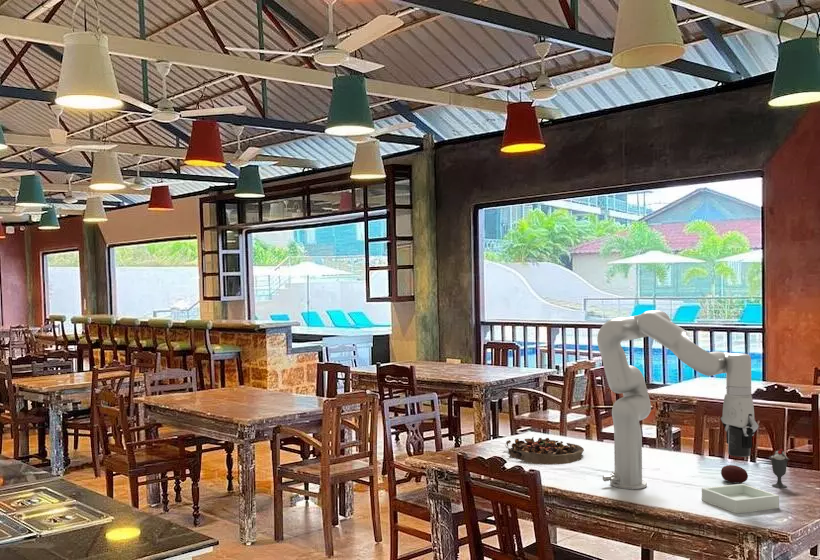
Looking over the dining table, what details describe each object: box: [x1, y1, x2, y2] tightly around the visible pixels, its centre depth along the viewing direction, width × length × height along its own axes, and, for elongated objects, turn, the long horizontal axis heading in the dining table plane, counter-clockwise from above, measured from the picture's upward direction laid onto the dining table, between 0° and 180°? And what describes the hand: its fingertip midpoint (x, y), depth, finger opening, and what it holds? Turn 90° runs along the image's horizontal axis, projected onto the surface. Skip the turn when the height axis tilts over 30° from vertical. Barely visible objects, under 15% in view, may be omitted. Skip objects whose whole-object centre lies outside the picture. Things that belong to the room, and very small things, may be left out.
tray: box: [701, 483, 780, 514], centre depth 258 cm, size 17×16×4 cm
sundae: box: [768, 445, 790, 489], centre depth 280 cm, size 7×7×15 cm
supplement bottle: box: [727, 426, 752, 458], centre depth 258 cm, size 7×7×12 cm
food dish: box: [504, 436, 585, 465], centre depth 333 cm, size 35×33×8 cm
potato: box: [720, 464, 749, 484], centre depth 286 cm, size 7×10×6 cm
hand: (739, 445), depth 258 cm, fingers closed on supplement bottle, 6 cm apart
